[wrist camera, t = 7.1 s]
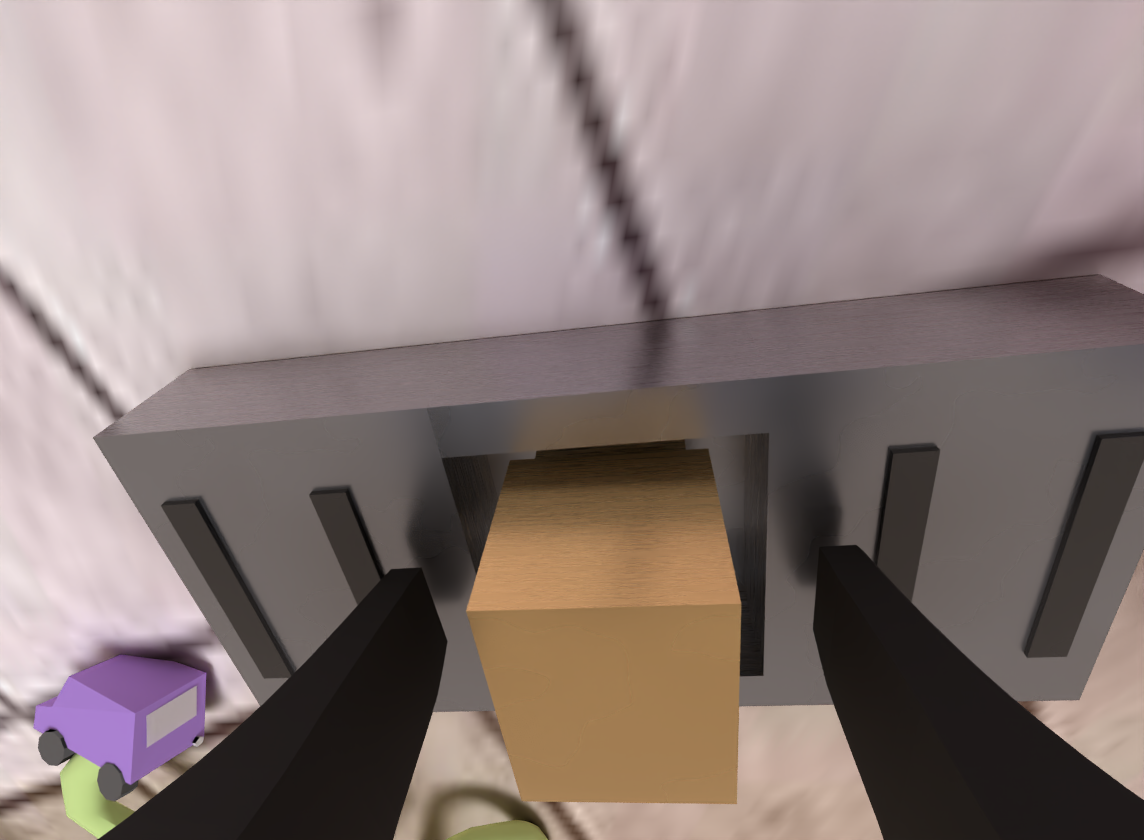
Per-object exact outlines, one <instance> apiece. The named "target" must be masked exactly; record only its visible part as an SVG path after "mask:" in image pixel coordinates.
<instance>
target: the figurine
mask: <svg viewBox="0 0 1144 840" xmlns="http://www.w3.org/2000/svg"><path fill="white" fill-rule="evenodd" d="M205 695H206V672H203V671H200V670H197V669H194V668H191V667H189V666H186V665H183V664H180V663H177V662H174V661H167V660H160V659H152V658H145V657H137V656H130V655H122V654H121V655H118V656H116V657H114V658H111V659H109V660H106V661H104V662H102V663H99V664H97V665H95V666H92V667H90V668H88V669H85V670H83V671H81V672H78V673H76V674H74V675H71V676H69V677H68V679H67V681H66V683H65V685H64V686H63V688H62V690H61V692H60V693H59V695H58V696H57V697H55V698H53V699H50V700H48V701H46V702H44V703H42V704H39V705H37V706H36V712H35V720H34V729H36V730H38V731H39V732H41V733H43V734H42V735H41V737H40V738H39V744H38V749H39V752H40V755H41V757H42V759H43V760H44V761H45V762H46V763H47V764H49V765H55V766H58V765H59V764H61V763H63V762H65V761H67V760H68V759H70V758H71V759H70V760H69V762H68V763H67V764H66V766H65V767H64V768H63V770H62V771H61V772H60V777H61V785H62V793H63V799H64V804H65V809H66V815H67V817H69V818H70V819H71V820H73V821H74V822H76V823H77V824H78V825H80V826H81V827H83V828H84V829H85V830H87V831H88V832H90V833H91V834H92V835H94V836H95V837H97V838H98V839H99V838H100V837H102V836H103V835H104V834H106V833H107V832H108V831H110V830H111V829H113V828H114V827H115V826H117V825H118V824H120V823H121V822H122V821H124V820H125V819H126V818H128V817H129V816H130V815H132V814H133V813H134V811H133V810H131V809H129V808H127V807H125V806H124V805H122V804H120V803H118V802H116V800H118V799H120V798H121V797H123V796H125V795H127V794H128V793H130V792H132V791H133V790H134V789H135V788H136V787H137V785H138V780H139V779H141V778H142V777H144V776H145V775H147V774H148V773H150V772H151V771H153V770H155V769H156V768H158V767H159V766H161V765H162V764H164V763H165V762H167V761H169V760H170V759H172V758H173V757H175V756H176V755H178V754H179V753H181V752H183V751H184V750H186V749H187V748H189V747H190V746H192V745H194V746H197V747H198V746H199V745H200V744H201V743H203V739H204V723H205ZM446 840H548V839H547V838H546V836H545V835H544V834H543V832H542V831H541V830H540V828H539V827H538V826H537V825H534V824H532V823H529V822H527V821H521V820H512V821H506V822H499V823H494V824H488V825H482V826H477V827H471V828H469V829H467V830H465V831H463V832H460V833H458V834H456V835H454V836H452V837H450V838H448V839H446Z"/></svg>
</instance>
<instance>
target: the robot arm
mask: <svg viewBox="0 0 1144 840" xmlns="http://www.w3.org/2000/svg"><path fill="white" fill-rule="evenodd" d="M813 632H814V636H815V640H816V644H817V649H818V653H819V657H820V661H821V665H822V669H823V672H824V676H825V680H826V684H827V687H828V690H829V693H830V696H831V698H832V701H833V704H834V706H835V709H836V712H837V715H838V717H839V720H840V723H841V725H842V728H843V731H844V733H845V736H846V739H847V741H848V744H849V747H850V749H851V752H852V755H853V757H854V760H855V763H856V765H857V768H858V770H859V773H860V776H861V778H862V781H863V784H864V786H865V789H866V792H867V794H868V797H869V800H870V802H871V805H872V808H873V810H874V813H875V816H876V818H877V821H878V824H879V827H880V830H881V833H882V836H883V839H884V840H1144V800H1143V799H1141V798H1140V797H1139V796H1137V795H1136V794H1134V793H1133V792H1131V791H1130V790H1129V789H1127V788H1126V787H1124V786H1123V785H1122V784H1120V783H1119V782H1118V781H1116V780H1115V779H1114V778H1112V777H1111V776H1110V775H1108V774H1107V773H1106V772H1104V771H1103V770H1102V769H1100V768H1099V767H1098V766H1096V765H1095V764H1094V763H1092V762H1091V761H1090V760H1088V759H1087V758H1086V757H1084V756H1083V755H1082V754H1081V753H1079V752H1078V751H1077V750H1076V749H1074V748H1073V747H1072V746H1071V745H1069V744H1068V743H1067V742H1066V741H1064V740H1063V739H1062V738H1060V737H1059V736H1058V735H1057V734H1055V733H1054V732H1053V731H1052V730H1050V729H1049V728H1048V727H1047V726H1045V725H1044V724H1043V723H1042V722H1041V721H1039V720H1038V719H1037V718H1036V717H1035V716H1033V715H1032V714H1031V713H1030V712H1029V711H1027V710H1026V709H1025V708H1024V707H1023V706H1022V705H1020V704H1019V703H1018V702H1017V701H1016V700H1015V699H1013V698H1012V697H1011V696H1010V695H1009V694H1008V693H1007V692H1005V691H1004V690H1003V689H1002V688H1001V687H1000V686H999V685H998V684H996V683H995V682H994V681H993V680H992V679H991V678H990V677H989V676H987V675H986V674H985V673H984V672H983V671H982V670H981V669H980V668H979V667H977V666H976V665H975V664H974V663H973V662H972V661H971V660H970V659H969V658H968V657H967V656H966V655H965V654H963V653H962V652H961V651H960V650H959V649H958V648H957V647H956V646H955V645H954V644H953V643H952V642H951V641H950V640H949V639H948V638H947V637H946V636H945V635H944V634H943V633H942V632H941V631H940V630H939V629H938V628H937V627H936V626H935V625H934V624H932V623H931V622H930V621H929V620H928V619H927V618H926V617H925V616H924V615H923V614H922V613H921V612H920V611H919V610H918V609H917V607H916V606H915V605H914V604H913V603H912V602H911V601H910V600H909V599H908V598H907V597H906V596H905V595H904V594H903V593H902V592H901V591H900V590H899V589H898V588H897V587H896V586H895V585H894V583H893V582H892V581H891V580H890V579H889V578H888V577H887V576H886V575H885V574H884V573H883V572H882V571H881V570H880V568H879V567H878V566H877V565H876V564H875V563H874V562H873V561H872V560H871V559H870V558H869V556H868V555H867V554H866V553H865V552H864V551H863V550H862V549H861V548H860V547H859V546H857V545H842V546H823V547H819V556H818V569H817V581H816V594H815V606H814V619H813ZM447 643H448V641H447V638H446V635H445V632H444V630H443V627H442V624H441V621H440V618H439V615H438V613H437V610H436V607H435V604H434V601H433V598H432V596H431V593H430V590H429V587H428V584H427V582H426V579H425V576H424V573H423V570H422V567H420V568H400V569H391V570H390V571H389V572H388V573H387V574H386V575H385V576H384V577H383V578H382V579H381V580H380V581H379V582H378V583H377V585H376V586H375V587H374V588H373V589H372V590H371V591H370V592H369V593H368V594H367V596H366V597H365V598H364V599H363V600H362V601H361V602H360V603H359V604H358V606H357V607H356V608H355V609H354V610H353V611H352V612H351V613H350V614H349V616H348V617H347V618H346V619H345V620H344V621H343V622H342V623H341V624H340V625H339V626H338V628H337V629H336V630H335V631H334V632H333V633H332V634H331V635H330V636H329V637H328V638H327V639H326V640H325V641H324V643H323V644H322V645H321V646H320V647H319V648H318V649H317V650H316V651H315V652H314V653H313V654H312V655H311V657H310V658H309V659H308V660H307V661H306V662H305V663H304V664H303V665H302V666H301V667H300V668H299V669H298V670H297V671H296V672H295V673H294V674H293V675H292V676H291V677H290V678H289V679H288V680H287V681H286V682H285V683H284V684H283V685H282V686H281V687H280V688H279V689H278V690H277V691H276V692H275V693H274V694H273V695H272V696H271V697H270V698H268V699H267V700H266V701H265V702H264V703H263V704H262V705H261V706H260V707H259V708H258V709H257V710H256V711H255V712H254V713H253V714H252V715H251V716H250V717H249V718H248V719H247V720H245V721H244V722H243V723H242V724H241V725H240V726H239V727H238V728H237V729H236V730H234V731H233V732H232V733H231V734H230V735H229V736H228V737H226V738H225V739H224V740H223V741H222V742H221V743H220V744H218V745H217V746H216V747H215V748H214V749H213V750H211V751H210V752H209V753H208V754H207V755H206V756H205V757H203V758H202V759H201V760H200V761H199V762H197V763H196V764H195V765H194V766H193V767H191V768H190V769H189V770H188V771H186V772H185V773H184V774H183V775H181V776H180V777H179V778H177V779H176V780H175V781H174V782H172V783H171V784H170V785H169V786H167V787H166V788H165V789H163V790H162V791H161V792H160V793H158V794H157V795H156V796H155V797H153V798H152V799H151V800H149V801H148V802H147V803H146V804H144V805H143V806H142V807H140V808H139V809H138V810H137V811H135V812H134V813H133V814H132V815H130V816H129V817H128V818H126V819H125V820H124V821H122V822H121V823H120V824H118V825H117V826H115V827H114V828H113V829H111V830H110V831H108V832H107V833H106V834H104V835H103V836H102V837H100V838H99V839H97V840H393V838H394V834H395V831H396V827H397V824H398V820H399V817H400V814H401V811H402V807H403V804H404V801H405V798H406V795H407V792H408V789H409V785H410V782H411V779H412V776H413V773H414V770H415V767H416V763H417V760H418V757H419V754H420V751H421V748H422V745H423V741H424V738H425V735H426V732H427V729H428V725H429V722H430V719H431V716H432V713H433V709H434V706H435V703H436V699H437V696H438V691H439V686H440V681H441V676H442V671H443V666H444V660H445V654H446V648H447Z"/></svg>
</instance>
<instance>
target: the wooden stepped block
mask: <svg viewBox="0 0 1144 840" xmlns="http://www.w3.org/2000/svg"><path fill="white" fill-rule="evenodd" d="M466 613H467V616H468V619H469V623H470V626H471V630H472V633H473V636H474V640H475V643H476V647H477V650H478V653H479V657H480V660H481V664H482V667H483V670H484V674H485V677H486V681H487V684H488V687H489V691H490V694H491V698H492V701H493V704H494V708H495V711H496V715H497V718H498V721H499V725H500V728H501V732H502V735H503V738H504V742H505V745H506V749H507V752H508V755H509V759H510V762H511V766H512V769H513V772H514V776H515V779H516V783H517V786H518V789H519V793H520V796H521V800H522V801H546V802H623V803H701V804H737V768H738V725H739V681H740V638H741V600H740V595H739V591H738V586H737V581H736V576H735V572H734V567H733V562H732V558H731V553H730V548H729V543H728V539H727V534H726V529H725V525H724V520H723V515H722V510H721V506H720V501H719V496H718V492H717V487H716V482H715V477H714V473H713V468H712V463H711V459H710V454H709V449H708V448H706V449H689V450H686V446H685V440H684V439H682V440H669V441H656V442H643V443H630V444H617V445H604V446H591V447H578V448H565V449H552V450H539V451H536V456H535V459H521V460H510V462H509V465H508V469H507V472H506V475H505V479H504V482H503V486H502V489H501V493H500V496H499V500H498V503H497V506H496V510H495V513H494V517H493V520H492V524H491V527H490V531H489V534H488V537H487V541H486V544H485V548H484V551H483V555H482V558H481V562H480V565H479V568H478V572H477V575H476V579H475V582H474V586H473V589H472V593H471V596H470V599H469V603H468V606H467V610H466Z"/></svg>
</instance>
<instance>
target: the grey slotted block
mask: <svg viewBox="0 0 1144 840" xmlns="http://www.w3.org/2000/svg"><path fill="white" fill-rule="evenodd" d="M93 439H94V440H95V442H96V443H97V445H98V447H99V448H100V450H101V451H102V453H103V455H104V456H105V458H106V459H107V461H108V463H109V464H110V466H111V468H112V469H113V471H114V472H115V474H116V476H117V477H118V479H119V480H120V482H121V484H122V485H123V487H124V488H125V490H126V492H127V493H128V495H129V496H130V498H131V500H132V501H133V503H134V504H135V506H136V508H137V509H138V511H139V512H140V514H141V516H142V517H143V519H144V520H145V522H146V524H147V525H148V527H149V528H150V530H151V532H152V533H153V535H154V536H155V538H156V540H157V541H158V543H159V544H160V546H161V548H162V549H163V551H164V552H165V554H166V556H167V557H168V559H169V560H170V562H171V564H172V565H173V567H174V568H175V570H176V572H177V573H178V575H179V576H180V578H181V580H182V581H183V583H184V584H185V586H186V588H187V589H188V591H189V592H190V594H191V596H192V597H193V599H194V600H195V602H196V604H197V605H198V607H199V608H200V610H201V612H202V613H203V615H204V616H205V618H206V620H207V621H208V623H209V624H210V626H211V628H212V629H213V631H214V632H215V634H216V636H217V637H218V639H219V641H220V642H221V644H222V645H223V647H224V649H225V650H226V652H227V653H228V655H229V657H230V658H231V660H232V661H233V663H234V665H235V666H236V668H237V669H238V671H239V673H240V674H241V676H242V677H243V679H244V681H245V682H246V684H247V685H248V687H249V689H250V690H251V692H252V693H253V695H254V697H255V698H256V700H257V701H258V703H259V705H260V706H261V705H262V704H263V703H264V702H265V701H266V700H267V699H268V698H270V697H271V696H272V695H273V694H274V693H275V692H276V691H277V690H278V689H279V688H280V687H281V686H282V685H283V684H284V683H285V682H286V681H287V680H288V679H289V678H290V677H291V676H292V675H293V674H294V673H295V672H296V671H297V670H298V669H299V668H300V667H301V666H302V665H303V664H304V663H305V662H306V661H307V660H308V659H309V658H310V657H311V655H312V654H313V653H314V652H315V651H316V650H317V649H318V648H319V647H320V646H321V645H322V644H323V643H324V641H325V640H326V639H327V638H328V637H329V636H330V635H331V634H332V633H333V632H334V631H335V630H336V629H337V628H338V626H339V625H340V624H341V623H342V622H343V621H344V620H345V619H346V618H347V617H348V616H349V614H350V613H351V612H352V611H353V610H354V609H355V608H356V607H357V606H358V604H359V603H360V602H361V601H362V600H363V599H364V598H365V597H366V596H367V594H368V593H369V592H370V591H371V590H372V589H373V588H374V587H375V586H376V585H377V583H378V582H379V581H380V580H381V579H382V578H383V577H384V576H385V575H386V574H387V573H388V572H389V571H390V570H391V569H400V568H420V567H422V570H423V573H424V576H425V579H426V582H427V584H428V587H429V590H430V593H431V596H432V598H433V601H434V604H435V607H436V610H437V613H438V615H439V618H440V621H441V624H442V627H443V630H444V632H445V635H446V638H447V641H448V643H447V648H446V654H445V660H444V666H443V671H442V676H441V681H440V686H439V691H438V696H437V699H436V703H435V706H434V709H433V712H455V711H495V708H494V704H493V701H492V698H491V694H490V691H489V687H488V684H487V681H486V677H485V674H484V670H483V667H482V664H481V660H480V657H479V653H478V650H477V647H476V643H475V640H474V636H473V633H472V630H471V626H470V623H469V619H468V616H467V613H466V610H467V606H468V603H469V599H470V596H471V593H472V589H473V586H474V582H475V579H476V575H477V572H478V568H479V565H480V562H481V558H482V555H483V551H484V548H485V544H486V541H487V537H488V534H489V531H490V527H491V524H492V520H493V517H494V513H495V510H496V506H497V503H498V500H499V496H500V493H501V489H502V486H503V482H504V479H505V475H506V472H507V469H508V465H509V462H510V460H521V459H535V456H536V451H539V450H552V449H565V448H578V447H591V446H604V445H617V444H630V443H643V442H656V441H669V440H682V439H684V440H685V446H686V450H689V449H706V448H708V449H709V454H710V459H711V463H712V468H713V473H714V477H715V482H716V487H717V492H718V496H719V501H720V506H721V510H722V515H723V520H724V525H725V529H726V534H727V539H728V543H729V548H730V553H731V558H732V562H733V567H734V572H735V576H736V581H737V586H738V591H739V595H740V600H741V638H740V681H739V706H783V705H834V704H833V701H832V698H831V696H830V693H829V690H828V687H827V684H826V680H825V676H824V672H823V669H822V665H821V661H820V657H819V653H818V649H817V644H816V640H815V636H814V632H813V619H814V606H815V594H816V581H817V569H818V556H819V547H823V546H842V545H857V546H859V547H860V548H861V549H862V550H863V551H864V552H865V553H866V554H867V555H868V556H869V558H870V559H871V560H872V561H873V562H874V563H875V564H876V565H877V566H878V567H879V568H880V570H881V571H882V572H883V573H884V574H885V575H886V576H887V577H888V578H889V579H890V580H891V581H892V582H893V583H894V585H895V586H896V587H897V588H898V589H899V590H900V591H901V592H902V593H903V594H904V595H905V596H906V597H907V598H908V599H909V600H910V601H911V602H912V603H913V604H914V605H915V606H916V607H917V609H918V610H919V611H920V612H921V613H922V614H923V615H924V616H925V617H926V618H927V619H928V620H929V621H930V622H931V623H932V624H934V625H935V626H936V627H937V628H938V629H939V630H940V631H941V632H942V633H943V634H944V635H945V636H946V637H947V638H948V639H949V640H950V641H951V642H952V643H953V644H954V645H955V646H956V647H957V648H958V649H959V650H960V651H961V652H962V653H963V654H965V655H966V656H967V657H968V658H969V659H970V660H971V661H972V662H973V663H974V664H975V665H976V666H977V667H979V668H980V669H981V670H982V671H983V672H984V673H985V674H986V675H987V676H989V677H990V678H991V679H992V680H993V681H994V682H995V683H996V684H998V685H999V686H1000V687H1001V688H1002V689H1003V690H1004V691H1005V692H1007V693H1008V694H1009V695H1010V696H1011V697H1012V698H1013V699H1015V700H1016V701H1056V700H1079V699H1080V697H1081V695H1082V692H1083V690H1084V688H1085V685H1086V683H1087V681H1088V678H1089V676H1090V674H1091V671H1092V669H1093V667H1094V664H1095V662H1096V660H1097V657H1098V655H1099V652H1100V650H1101V648H1102V645H1103V643H1104V641H1105V638H1106V636H1107V634H1108V631H1109V629H1110V627H1111V624H1112V622H1113V620H1114V617H1115V615H1116V613H1117V610H1118V608H1119V606H1120V603H1121V601H1122V599H1123V596H1124V594H1125V592H1126V589H1127V587H1128V585H1129V582H1130V580H1131V578H1132V575H1133V573H1134V571H1135V568H1136V566H1137V564H1138V561H1139V559H1140V557H1141V554H1142V552H1143V550H1144V294H1142V293H1139V292H1137V291H1135V290H1133V289H1131V288H1128V287H1126V286H1124V285H1122V284H1119V283H1117V282H1115V281H1113V280H1111V279H1108V278H1106V277H1104V276H1102V275H1094V276H1084V277H1075V278H1065V279H1055V280H1046V281H1036V282H1027V283H1017V284H1007V285H998V286H988V287H978V288H969V289H959V290H950V291H940V292H930V293H921V294H911V295H901V296H892V297H882V298H873V299H863V300H853V301H844V302H834V303H825V304H815V305H805V306H796V307H786V308H776V309H767V310H757V311H748V312H738V313H728V314H719V315H709V316H699V317H690V318H680V319H671V320H661V321H651V322H642V323H632V324H622V325H613V326H603V327H594V328H584V329H574V330H565V331H555V332H545V333H536V334H526V335H517V336H507V337H497V338H488V339H478V340H469V341H459V342H449V343H440V344H430V345H420V346H411V347H401V348H392V349H382V350H372V351H363V352H353V353H343V354H334V355H324V356H315V357H305V358H295V359H286V360H276V361H266V362H257V363H247V364H238V365H228V366H218V367H209V368H199V369H189V370H188V371H186V372H185V373H184V374H182V375H181V376H179V377H178V378H176V379H175V380H174V381H172V382H171V383H169V384H168V385H167V386H165V387H164V388H162V389H161V390H159V391H158V392H157V393H155V394H154V395H152V396H151V397H150V398H148V399H147V400H145V401H144V402H143V403H141V404H140V405H138V406H137V407H135V408H134V409H133V410H131V411H130V412H128V413H127V414H126V415H124V416H123V417H121V418H120V419H119V420H117V421H116V422H114V423H113V424H111V425H110V426H109V427H107V428H106V429H104V430H103V431H102V432H100V433H99V434H97V435H96V436H94V437H93Z"/></svg>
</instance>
